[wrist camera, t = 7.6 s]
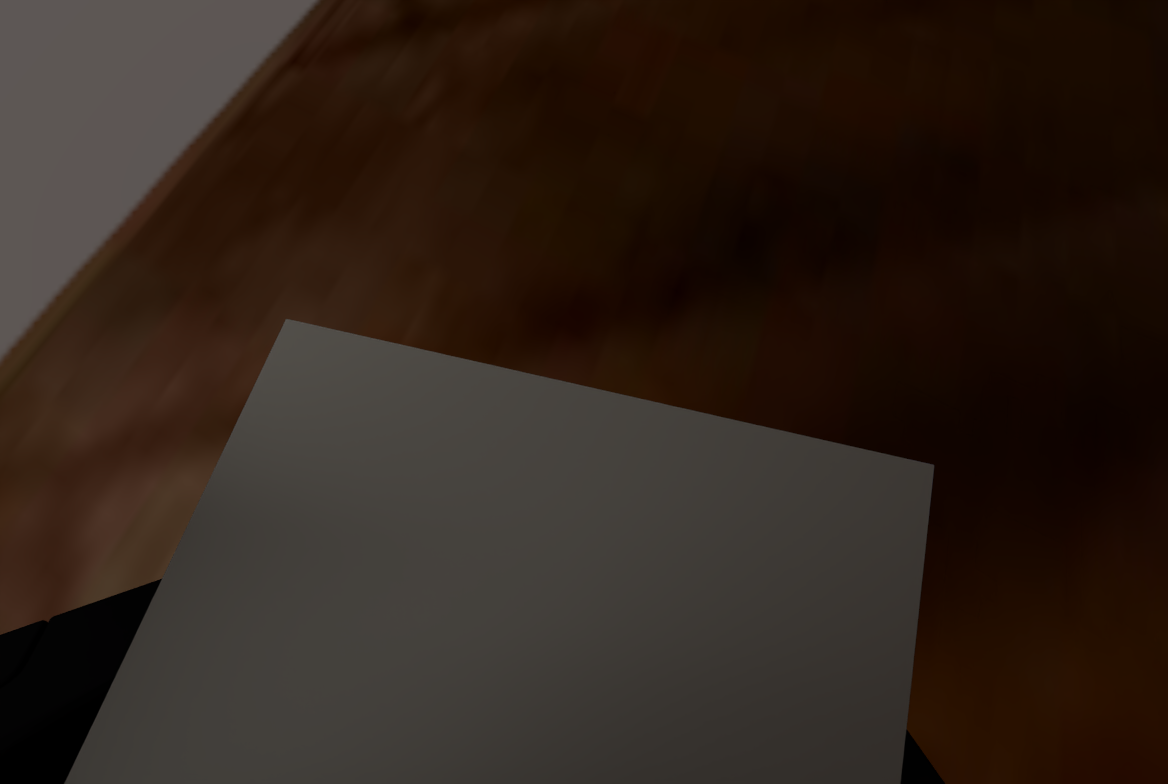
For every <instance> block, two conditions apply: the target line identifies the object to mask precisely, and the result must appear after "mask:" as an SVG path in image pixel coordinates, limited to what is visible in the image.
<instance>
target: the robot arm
mask: <svg viewBox="0 0 1168 784" xmlns="http://www.w3.org/2000/svg"><path fill="white" fill-rule="evenodd" d="M161 580H162V579H160V580H157V581H154V582H151V583H148V584H146V585H143V586H140V587H137V588H134V589H131V590H128V591H125V592H123V593H120V594H117V595H114V596H111V597H108V598H105V599H102V600H99V601H97V602H94V603H91V604H88V605H85V606H82V607H79V608H76V609H74V610H71V611H68V612H65V613H62V614H59V615H56V616H54V617H52V618H51V619H50V620H49V622H47V621H45V620H42V621H39V622H36V623H33V624H30V625H27V626H25V627H22V628H19V629H16V630H13V631H10V632H7V633H4V634H2V635H0V784H64V783H65V781H66V779H67V777H68V775H69V773H70V771H71V769H72V767H73V764H74V762H75V760H76V758H77V756H78V754H79V752H80V750H81V748H82V746H83V744H84V741H85V739H86V737H87V735H88V733H89V731H90V729H91V727H92V725H93V723H94V720H95V718H96V716H97V714H98V712H99V710H100V708H101V706H102V704H103V702H104V700H105V697H106V695H107V693H108V691H109V689H110V687H111V685H112V683H113V681H114V679H115V677H116V674H117V672H118V670H119V668H120V666H121V664H122V662H123V660H124V658H125V656H126V653H127V651H128V649H129V647H130V645H131V643H132V641H133V639H134V637H135V635H136V633H137V630H138V628H139V626H140V624H141V622H142V620H143V618H144V616H145V614H146V612H147V610H148V607H149V605H150V603H151V601H152V599H153V597H154V595H155V593H156V591H157V589H158V586H159V584H160V582H161ZM900 784H945V783H944V781H943V780H942V778H941V777H940V776H939V774H938V773H937V771H936V770H935V769H934V767H933V766H932V764H931V763H930V762H929V760H928V759H927V757H926V756H925V755H924V753H923V752H922V750H921V749H920V747H919V746H918V745H917V743H916V742H915V740H914V739H913V738H912V736H911V735H910V733H909V732H908V731H907V729H906V736H905V745H904V755H903V764H902V774H901V783H900Z"/></svg>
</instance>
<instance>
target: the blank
mask: <svg viewBox="0 0 1168 784" xmlns="http://www.w3.org/2000/svg"><path fill="white" fill-rule="evenodd" d="M933 473H934V465H932V464H927V463H923V462H918V461H914V460H910V459H905V458H901V457H896V456H892V455H887V454H883V453H879V452H874V451H870V450H865V449H861V448H856V447H852V446H847V445H843V444H839V443H834V442H830V441H825V440H821V439H816V438H812V437H808V436H803V435H799V434H794V433H790V432H785V431H781V430H777V429H772V428H768V427H763V426H759V425H754V424H750V423H746V422H741V421H737V420H732V419H728V418H723V417H719V416H715V415H710V414H706V413H701V412H697V411H692V410H688V409H683V408H679V407H675V406H670V405H666V404H661V403H657V402H652V401H648V400H644V399H639V398H635V397H630V396H626V395H621V394H617V393H613V392H608V391H604V390H599V389H595V388H590V387H586V386H582V385H577V384H573V383H568V382H564V381H559V380H555V379H550V378H546V377H542V376H537V375H533V374H528V373H524V372H519V371H515V370H511V369H506V368H502V367H497V366H493V365H488V364H484V363H480V362H475V361H471V360H466V359H462V358H457V357H453V356H449V355H444V354H440V353H435V352H431V351H426V350H422V349H418V348H413V347H409V346H404V345H400V344H395V343H391V342H386V341H382V340H378V339H373V338H369V337H364V336H360V335H355V334H351V333H347V332H342V331H338V330H333V329H329V328H324V327H320V326H316V325H311V324H307V323H302V322H298V321H293V320H289V319H286V321H285V323H284V325H283V327H282V329H281V331H280V333H279V335H278V337H277V339H276V341H275V344H274V346H273V348H272V350H271V352H270V354H269V356H268V358H267V360H266V362H265V365H264V367H263V369H262V371H261V373H260V375H259V377H258V379H257V381H256V383H255V385H254V388H253V390H252V392H251V394H250V396H249V398H248V400H247V402H246V404H245V406H244V409H243V411H242V413H241V415H240V417H239V419H238V421H237V423H236V425H235V427H234V429H233V432H232V434H231V436H230V438H229V440H228V442H227V444H226V446H225V448H224V450H223V452H222V455H221V457H220V459H219V461H218V463H217V465H216V467H215V469H214V471H213V473H212V476H211V478H210V480H209V482H208V484H207V486H206V488H205V490H204V492H203V494H202V496H201V499H200V501H199V503H198V505H197V507H196V509H195V511H194V513H193V515H192V517H191V519H190V522H189V524H188V526H187V528H186V530H185V532H184V534H183V536H182V538H181V540H180V543H179V545H178V547H177V549H176V551H175V553H174V555H173V557H172V559H171V561H170V563H169V566H168V568H167V570H166V572H165V574H164V576H163V578H162V580H161V582H160V584H159V586H158V589H157V591H156V593H155V595H154V597H153V599H152V601H151V603H150V605H149V607H148V610H147V612H146V614H145V616H144V618H143V620H142V622H141V624H140V626H139V628H138V630H137V633H136V635H135V637H134V639H133V641H132V643H131V645H130V647H129V649H128V651H127V653H126V656H125V658H124V660H123V662H122V664H121V666H120V668H119V670H118V672H117V674H116V677H115V679H114V681H113V683H112V685H111V687H110V689H109V691H108V693H107V695H106V697H105V700H104V702H103V704H102V706H101V708H100V710H99V712H98V714H97V716H96V718H95V720H94V723H93V725H92V727H91V729H90V731H89V733H88V735H87V737H86V739H85V741H84V744H83V746H82V748H81V750H80V752H79V754H78V756H77V758H76V760H75V762H74V764H73V767H72V769H71V771H70V773H69V775H68V777H67V779H66V781H65V783H64V784H900V783H901V774H902V764H903V755H904V745H905V736H906V727H907V717H908V708H909V698H910V689H911V680H912V670H913V661H914V651H915V642H916V633H917V623H918V614H919V604H920V595H921V585H922V576H923V567H924V557H925V548H926V538H927V529H928V520H929V510H930V501H931V491H932V482H933Z"/></svg>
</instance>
